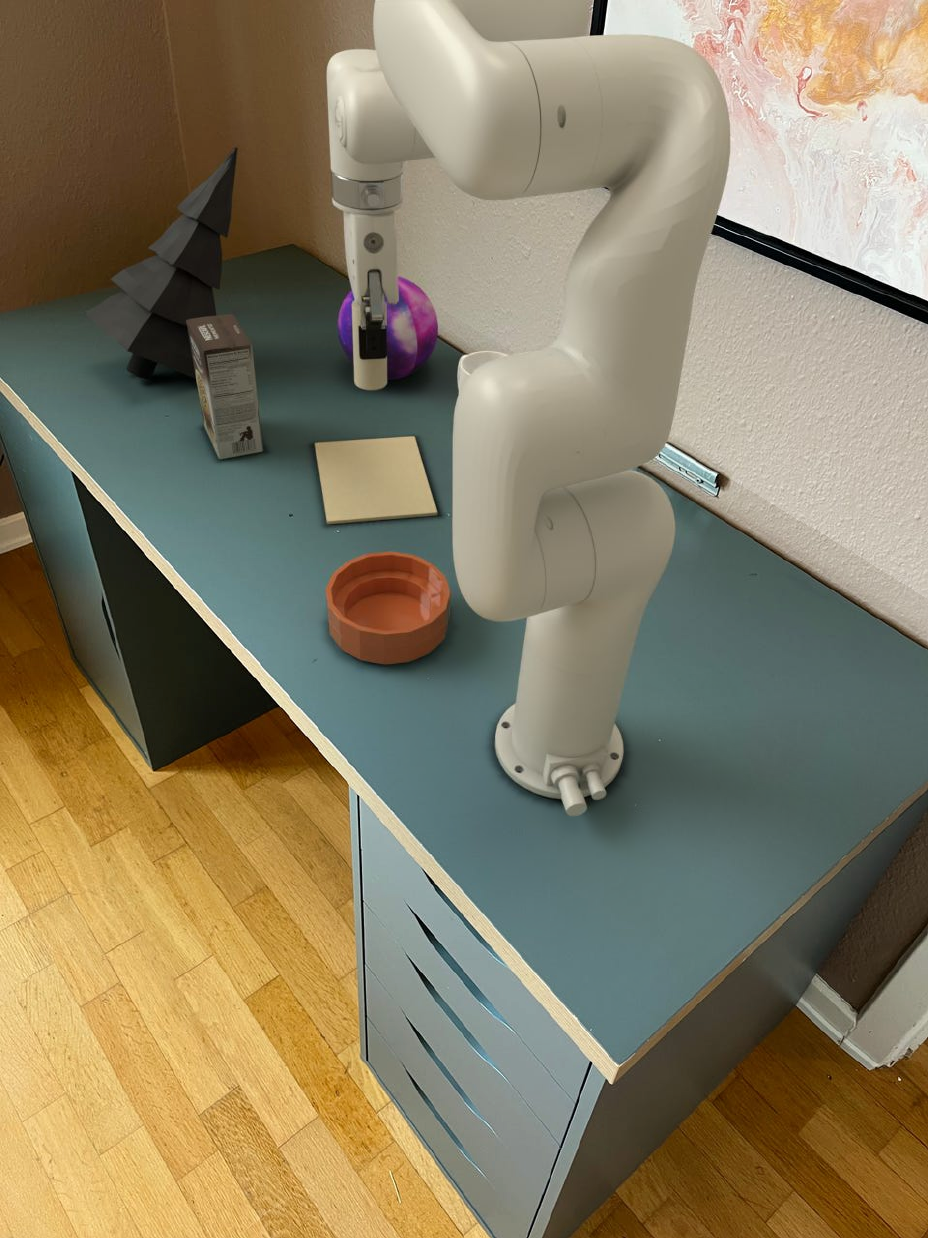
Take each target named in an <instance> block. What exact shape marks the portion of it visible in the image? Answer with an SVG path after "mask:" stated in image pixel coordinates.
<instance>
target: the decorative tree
mask: <svg viewBox="0 0 928 1238" xmlns="http://www.w3.org/2000/svg"><path fill="white" fill-rule="evenodd" d="M238 150H239V149H238V147H237V146H234V147H233V148H232V150H231V151H230V152H229V154H228V155H227V157H225V159H224V160H223V162H222V163H221V164H220V166H218V168H217V169H216V170H214V172H212V174H211V175H210V176H209V177H208V178H207V179H206V180H205V181H204V182H203V183H201V184H200V185H198V186H197V187H196V188H195V189H194V190H193V191H192V192H190V193H189V194H188V195H187V196H186V197H185V198H184V199H183V200H182V201H181V203H180V204H178V206H176V209H177V210H178V211H179V212H181V213H182V214H181V215H180V216H179V217H178V218H177V219H175V221H173V222H172V223H171V225H170V226H169V227H168V228H167V229H166V230H165V232H164V233H163V234H162V235H161V236H160V237H159V238H158V239H157V240H156V241H154V242H153V243H152V244H151V245H149V246H148V247H147V249H148V250H151V251H154V252H155V253H156V254H154V255H153V256H150V257H149V258H146V259H144V260H142V261H140V262H138V263H135V264H133V265H130V266H128V267H126V268H123V269H122V270H120V271H119V272H118V273H117V274H115V275H114V276H113V277H112V278H110V280H111V281H112V282H113V283H115V284H116V285H117V286H118V287H120V288H121V289H122V291H120V292H118V293H115V294H113V295H110V296H109V297H108V298H106V299H105V300H103V301H102V302H100V303H99V304H98V305H96V306H94V307H91V308H90V309H88V310H86V311H85V312H84V313H85V315H86V316H87V317H88V318H90V319H91V320H92V322H94V323H95V325H96V326H97V327H98V328H99V329H100V330H101V331H102V333H103V334H105V335H106V336H108V337H109V338H110V339H112V340H113V341H114V342H117V344H119V345H120V347H122V348H123V349H124V350H125V351H126V352H129V353H130V354H131V356H130V358H129V361H128V364H127V365H126V370H127V371H128V372H129V373H130V374H132V375H134V376H135V377H138V378H140V379H142V380H145V381H151V379H152V376H153V374H154V372H155V370H156V368H157V365H158V364H159V365H161V366H164V367H166V368H169V369H170V370H173V371H176V372H178V373H181V374H183V375H186V376H189V377H191V378H194V379H196V374H195V369H194V363H193V357H192V351H191V345H190V340H189V334H188V328H187V323H186V320H189V319H194V318H201V317H207V316H217V309H216V302H215V297H214V296H215V295H214V291H213V288H214V289H216V290H220V288H221V280H222V270H223V248H222V240H221V236H222V237H224V238H226V239H228V236H229V231H230V226H231V220H232V206H233V191H234V186H235V185H234V184H235V176H236V169H237V168H236V167H237V158H238Z"/></svg>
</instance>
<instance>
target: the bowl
mask: <svg viewBox="0 0 928 1238" xmlns="http://www.w3.org/2000/svg"><path fill="white" fill-rule="evenodd" d="M325 600H326V613H327V616H326V617H327V623H328V624H327V625H328V633H329V636H330V637H331V638H332V639H333V641H334V642H335V643H336V645H337V646H338V647H339V649H340V650H342V651H343V652H344V653H346V654H347V655H351V656H352V657H354V658H356V659H358V660H360V661H361V662H362V661H363V662H369V663H374V664H380V665H394V664H401V663H411V662H413V661H415V660H418V659H419V658H421V657H424V656H426V655H429V654H431V653H432V652H433V651H434V649H436V648H437V647H438V646H439V645H440V644H441V643H442V642H443V641H444V639H446V638H445V637H446V634H447V632H448V628H449V624H450V611H451V610H450V609H451V590H450V586H449V583H448V579H447V577H446V575H444V574H443V572H441V570H439V568H438V567H436V565H435V564H434V563H432V562H429V561H427V560H426V559H424V558H421V557H419V556H417V555H415V554H411V553H403V552H397V551H384V552H383V551H382V552H372V553H371V552H370V553H366V554H363V555H361V556H358V557H355V558H353V559H350V560H348V561H346V562H345V563H344V564H342V566H340V567H339V568H338V569H336V571H334V572H333V573H332V574H331V577H330V579H329V581H328V583H327V585H326V588H325Z"/></svg>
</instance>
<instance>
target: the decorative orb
mask: <svg viewBox="0 0 928 1238" xmlns="http://www.w3.org/2000/svg"><path fill="white" fill-rule="evenodd" d="M398 292H399V301H398V302H397V303H396V304H394V305H393V303H389V302H388V300H387V297H386V295H385V302H386V304H387V381H389V380H391V381H392V380H399V379H403V378H406V377H409V376H410V375H413V374H414V373H416V372H417V371H419V370H420V369H421V368H422V367H423V366H424V365H425V364H426V363H427V362H428V361H429V359H430V358H431V356H432V354H433V352H434V350H435V347H436V344H437V341H438V336H439V335H438V334H439V324H438V317H437V312H436V309H435V308H434V305H433V302H432V301H431V299H430V297H429V296H428V294H427V293H426V292H425V291H424V290H423V289H422V288H421V287H420V286H419V285H417V284H416V283H414V282H413V281H411V280H409V279H407V278H405V277H402V276H400V275H398ZM353 301H354V296H353V292H352V289H351V290H350V291H349V293H348V294H347V295H346V297H345V298H344V300H343V302H342V304H341V306H340V309H339V313H338V316H337V317H338V318H337V335H338V339H339V343H340V345H341V349H342V350H343V352H344V354H345V356H346V357H347V359H348V360H349V361H350V363H351V364H352V365H353V366H354V358H353V328H352V302H353Z"/></svg>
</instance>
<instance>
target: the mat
mask: <svg viewBox="0 0 928 1238" xmlns="http://www.w3.org/2000/svg"><path fill="white" fill-rule="evenodd" d="M314 449H315V456H316V461H317V468H318V473H319V475H318V476H319V481H320V487H321V492H322V500H323V506H324V507H323V508H324V512H325V518H326V524H327V525H338V524H349V523H360V522H370V521H371V522H373V521H385V520H395V519H398V520H399V519H408V518H419V517H420V518H421V517H422V518H423V517H433V516H438V510H437V507H436V503H435V500H434V497H433V493H432V490H431V486H430V483H429V479H428V476H427V473H426V470H425V465H424V464H423V460H422V457H421V454H420V449H419V446H418V443H417V439H416V437H415V436H414V435H413V436H411V435H409V436H397V437H396V436H395V437H384V438H381V437H380V438H368V439H367V438H366V439H353V440H352V439H351V440H337V441H322V442H314Z"/></svg>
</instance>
